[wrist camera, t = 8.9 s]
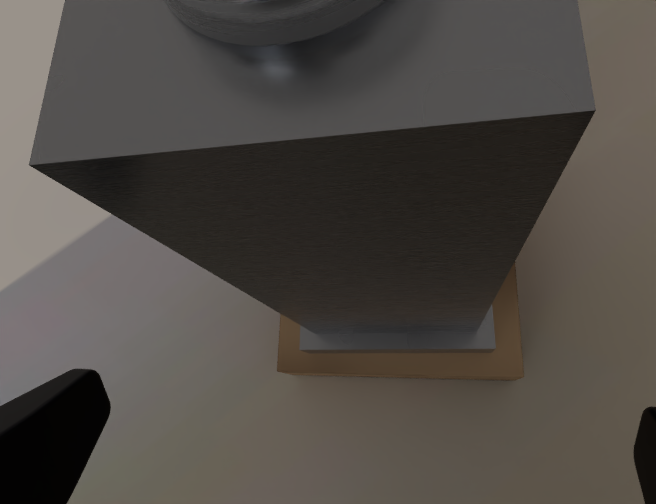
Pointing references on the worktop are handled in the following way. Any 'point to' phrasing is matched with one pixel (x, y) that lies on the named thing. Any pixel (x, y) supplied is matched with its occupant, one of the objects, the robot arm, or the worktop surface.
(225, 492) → the worktop surface
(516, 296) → the square wooden tray
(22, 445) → the robot arm
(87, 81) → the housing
